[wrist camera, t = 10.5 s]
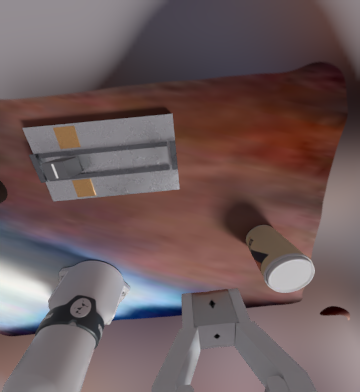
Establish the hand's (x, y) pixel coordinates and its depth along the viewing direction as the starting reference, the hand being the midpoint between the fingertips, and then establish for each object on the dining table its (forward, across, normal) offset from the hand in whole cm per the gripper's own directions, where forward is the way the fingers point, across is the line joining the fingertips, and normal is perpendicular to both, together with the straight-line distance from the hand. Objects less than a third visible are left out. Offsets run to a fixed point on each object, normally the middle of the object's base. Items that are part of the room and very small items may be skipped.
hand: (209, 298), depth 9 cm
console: (+28, +14, -4) cm, 31 cm away
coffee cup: (+28, -18, +20) cm, 39 cm away
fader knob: (+25, +21, -4) cm, 33 cm away
